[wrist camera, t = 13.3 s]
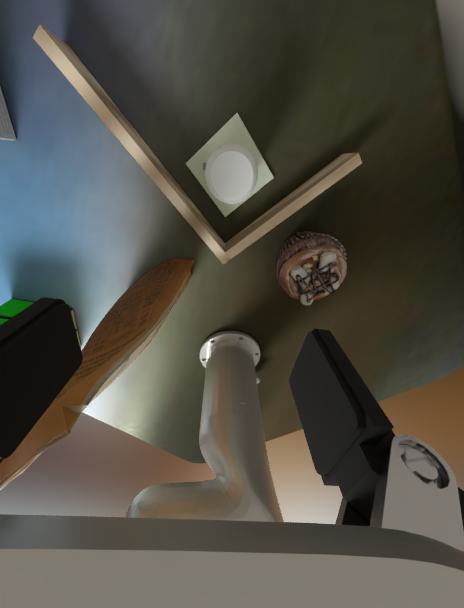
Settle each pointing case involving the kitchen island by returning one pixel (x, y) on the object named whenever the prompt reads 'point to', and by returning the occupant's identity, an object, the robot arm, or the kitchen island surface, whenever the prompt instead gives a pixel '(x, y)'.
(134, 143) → the angled wooden barrier
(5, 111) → the supplement box
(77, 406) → the pancake mix bag
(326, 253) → the cupcake
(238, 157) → the supplement bottle
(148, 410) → the kitchen island surface
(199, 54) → the kitchen island surface
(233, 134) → the pad
